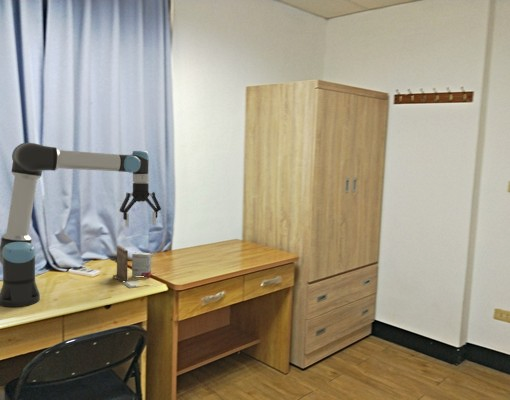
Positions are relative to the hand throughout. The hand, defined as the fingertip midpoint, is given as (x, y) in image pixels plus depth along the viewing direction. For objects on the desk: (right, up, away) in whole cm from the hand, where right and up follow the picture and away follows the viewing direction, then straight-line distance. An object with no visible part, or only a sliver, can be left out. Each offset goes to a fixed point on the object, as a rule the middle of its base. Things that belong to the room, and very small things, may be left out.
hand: (140, 225), depth 229 cm
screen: (-9, -26, -1) cm, 28 cm away
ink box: (-1, -26, +5) cm, 26 cm away
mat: (0, -27, -9) cm, 29 cm away
